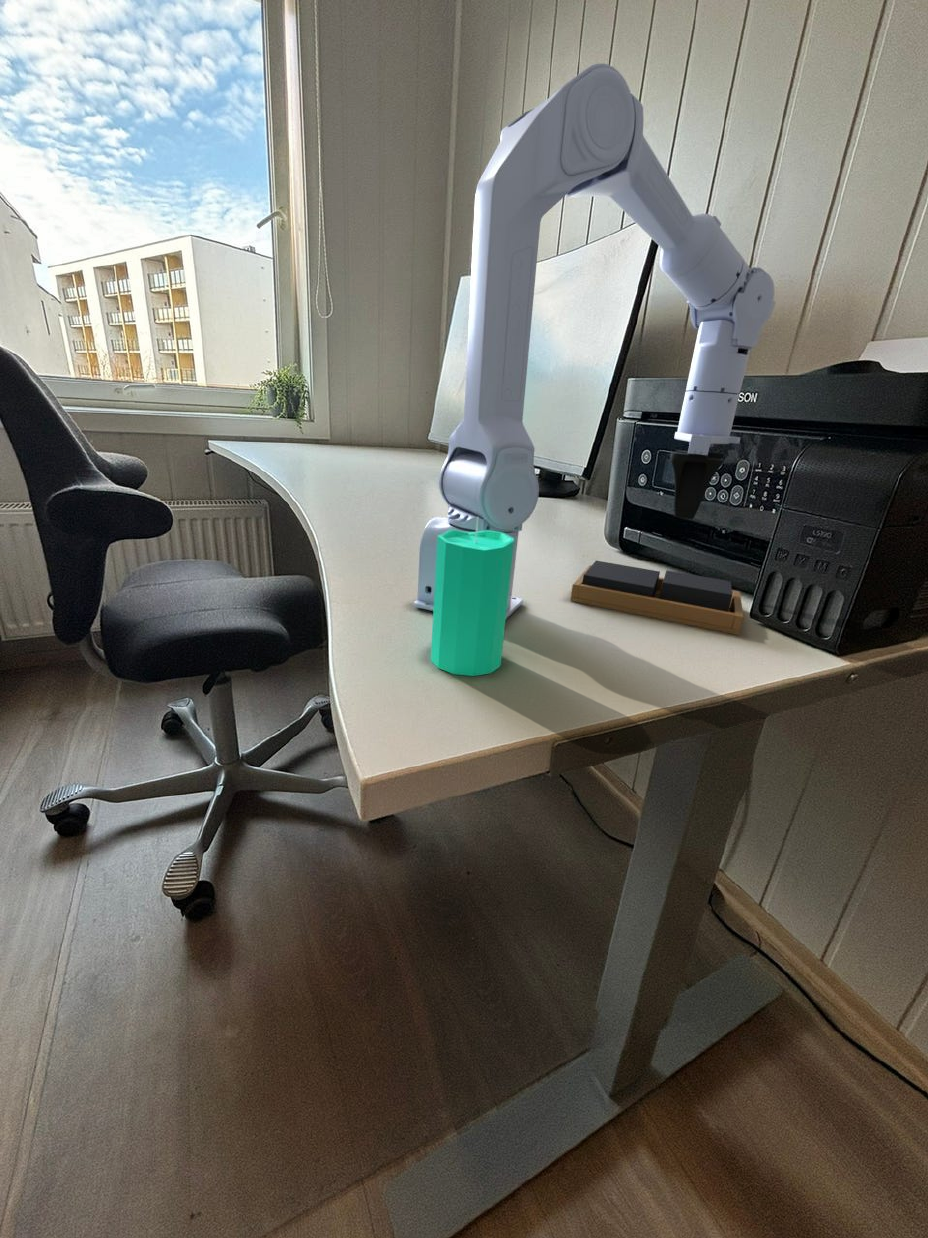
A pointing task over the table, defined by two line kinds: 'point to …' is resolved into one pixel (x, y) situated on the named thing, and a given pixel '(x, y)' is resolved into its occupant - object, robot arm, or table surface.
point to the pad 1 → (622, 578)
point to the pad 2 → (696, 590)
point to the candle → (470, 600)
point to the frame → (661, 607)
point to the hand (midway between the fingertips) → (685, 512)
